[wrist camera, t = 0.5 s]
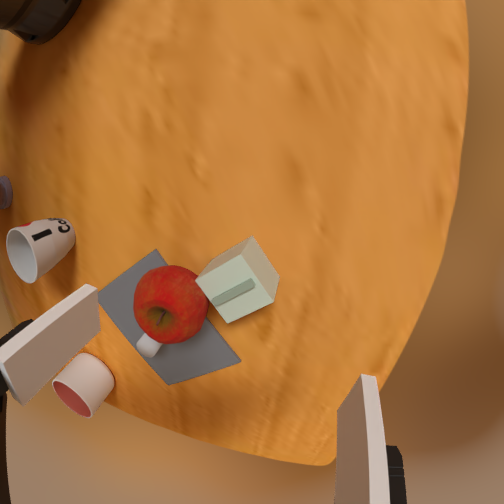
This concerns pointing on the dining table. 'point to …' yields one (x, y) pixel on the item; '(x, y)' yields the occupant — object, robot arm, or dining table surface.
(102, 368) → the cup
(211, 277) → the pale green block
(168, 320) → the apple
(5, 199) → the cat figurine
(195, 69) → the dining table surface
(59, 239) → the cup
